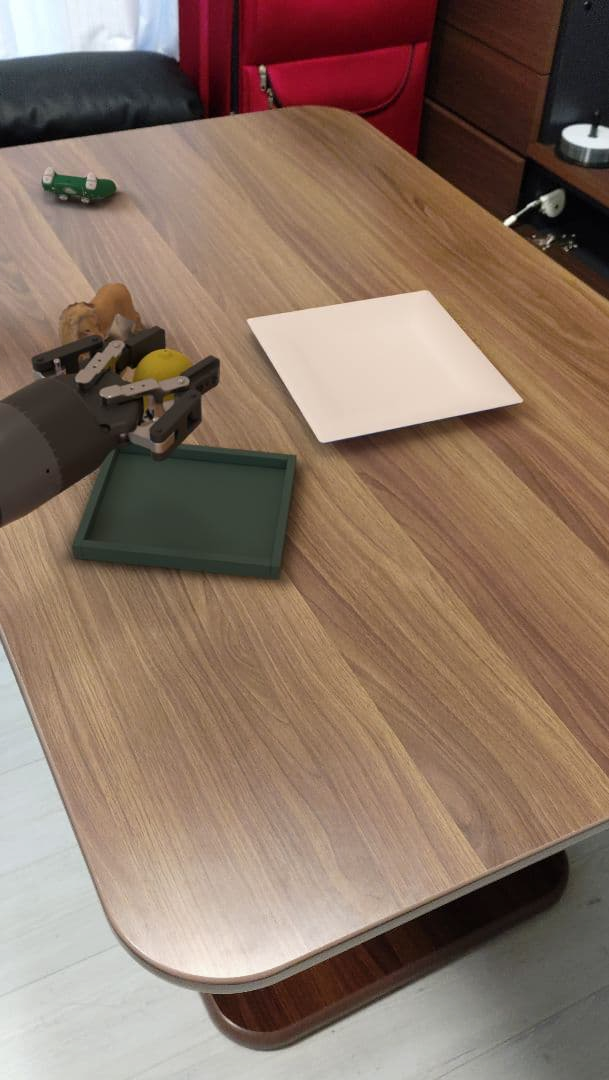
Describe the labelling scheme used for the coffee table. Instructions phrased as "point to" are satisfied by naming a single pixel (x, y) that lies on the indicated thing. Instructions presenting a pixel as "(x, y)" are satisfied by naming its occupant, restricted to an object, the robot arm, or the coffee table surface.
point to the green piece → (77, 186)
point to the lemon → (161, 368)
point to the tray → (190, 510)
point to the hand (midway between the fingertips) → (188, 351)
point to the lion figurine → (98, 315)
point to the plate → (380, 365)
